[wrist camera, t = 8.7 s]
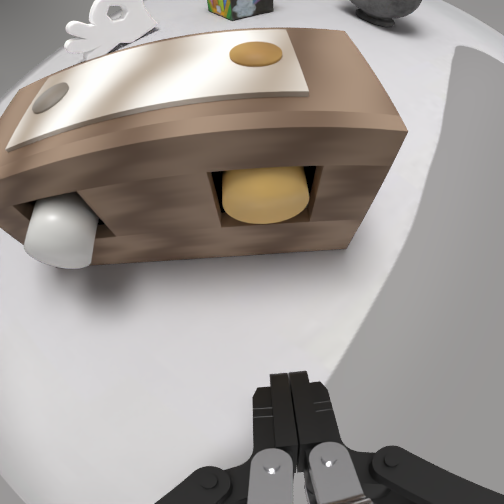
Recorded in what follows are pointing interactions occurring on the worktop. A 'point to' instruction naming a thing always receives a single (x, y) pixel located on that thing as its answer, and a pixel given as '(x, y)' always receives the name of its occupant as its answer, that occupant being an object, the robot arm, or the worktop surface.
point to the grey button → (62, 231)
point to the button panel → (202, 141)
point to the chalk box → (239, 7)
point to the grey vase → (384, 10)
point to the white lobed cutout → (108, 28)
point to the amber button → (264, 193)
